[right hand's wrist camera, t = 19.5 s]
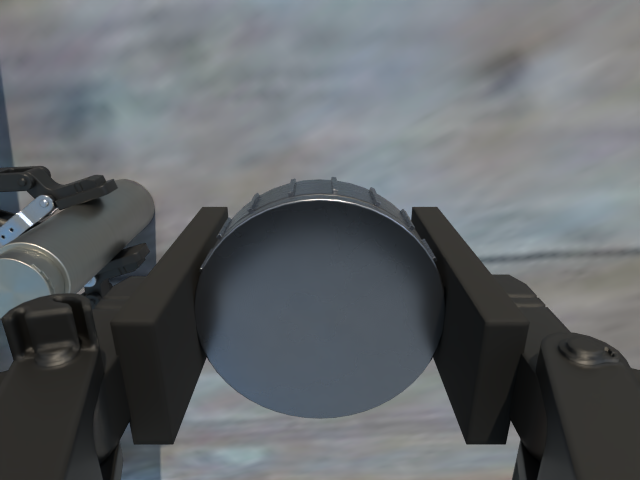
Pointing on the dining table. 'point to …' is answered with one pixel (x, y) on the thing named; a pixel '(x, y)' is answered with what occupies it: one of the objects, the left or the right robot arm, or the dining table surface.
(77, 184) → the left robot arm
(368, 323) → the lid
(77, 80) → the dining table surface
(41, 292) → the jar
